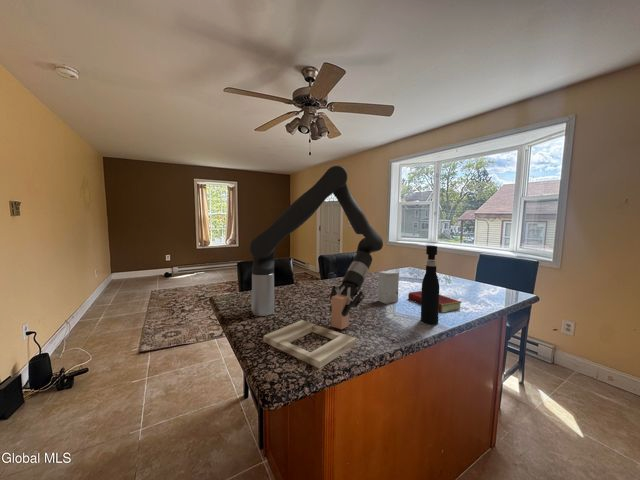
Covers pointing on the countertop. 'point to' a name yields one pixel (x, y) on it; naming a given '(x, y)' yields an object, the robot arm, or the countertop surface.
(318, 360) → the beige lopsided picture frame
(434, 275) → the wine bottle
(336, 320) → the tall salmon pink block
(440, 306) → the hardcover book
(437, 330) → the countertop surface
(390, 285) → the skincare box
